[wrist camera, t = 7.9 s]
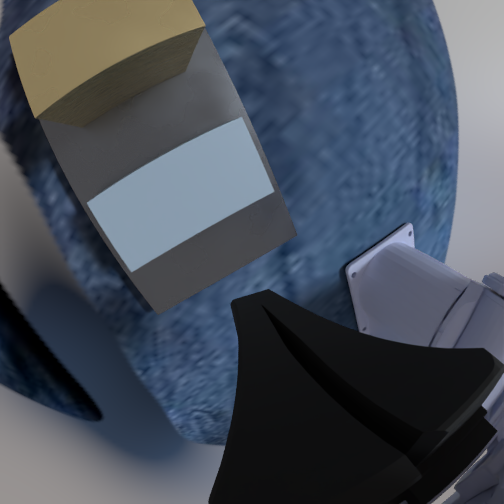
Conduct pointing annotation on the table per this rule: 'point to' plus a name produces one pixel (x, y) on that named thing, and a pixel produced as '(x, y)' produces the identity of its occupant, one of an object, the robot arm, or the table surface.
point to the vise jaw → (181, 193)
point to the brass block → (101, 54)
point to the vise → (157, 143)
